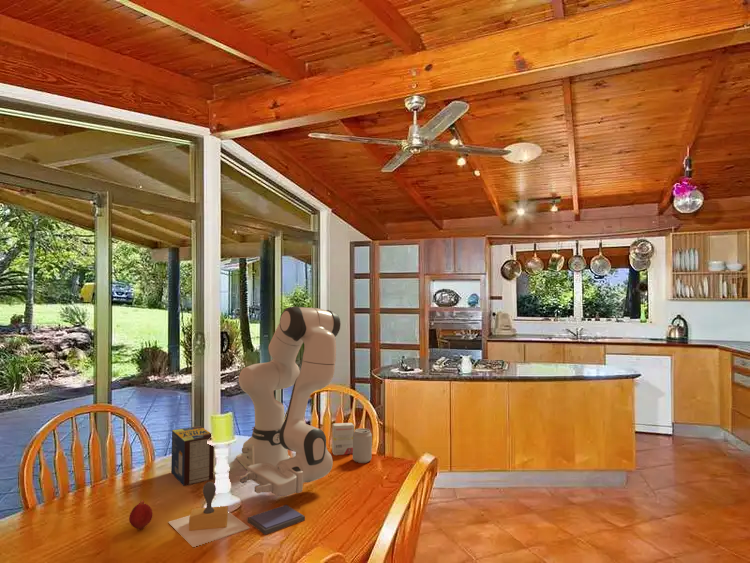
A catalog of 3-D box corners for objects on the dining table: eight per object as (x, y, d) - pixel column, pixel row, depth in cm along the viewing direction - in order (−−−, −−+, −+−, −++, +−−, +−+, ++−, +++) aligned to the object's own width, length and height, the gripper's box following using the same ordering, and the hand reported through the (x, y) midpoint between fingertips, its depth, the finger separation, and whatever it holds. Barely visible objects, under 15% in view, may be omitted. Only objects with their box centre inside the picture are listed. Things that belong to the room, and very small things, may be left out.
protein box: (199, 466, 184) (200, 425, 184) (213, 479, 172) (214, 435, 172) (170, 472, 178) (171, 429, 178) (183, 486, 166) (184, 440, 166)
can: (369, 464, 189) (369, 433, 189) (350, 462, 190) (350, 431, 191) (373, 458, 196) (373, 428, 197) (355, 456, 198) (355, 426, 198)
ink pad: (247, 521, 141) (247, 516, 141) (286, 508, 150) (286, 503, 150) (265, 534, 134) (265, 529, 134) (304, 520, 143) (304, 515, 143)
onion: (127, 535, 132) (127, 506, 132) (131, 525, 138) (131, 497, 138) (150, 533, 134) (151, 503, 134) (153, 523, 140) (154, 495, 140)
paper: (167, 522, 140) (167, 521, 140) (221, 506, 151) (221, 505, 151) (193, 548, 127) (193, 547, 127) (249, 528, 137) (249, 527, 137)
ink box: (351, 450, 206) (352, 421, 206) (354, 454, 201) (354, 425, 201) (331, 451, 204) (332, 422, 204) (333, 455, 199) (334, 426, 199)
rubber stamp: (188, 531, 135) (189, 487, 135) (191, 521, 140) (192, 479, 141) (226, 527, 137) (227, 484, 137) (227, 518, 143) (228, 476, 143)
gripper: (270, 455, 164) (232, 464, 155) (305, 473, 149) (265, 484, 140) (270, 474, 164) (231, 484, 155) (305, 493, 149) (264, 507, 140)
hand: (247, 484), depth 147 cm, fingers open, 8 cm apart
